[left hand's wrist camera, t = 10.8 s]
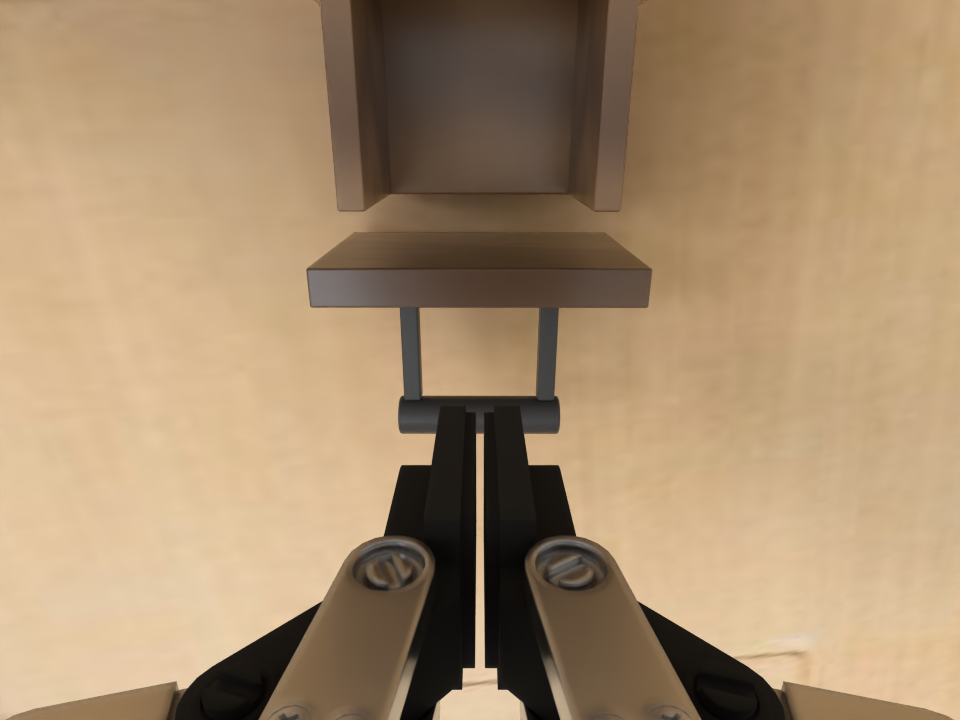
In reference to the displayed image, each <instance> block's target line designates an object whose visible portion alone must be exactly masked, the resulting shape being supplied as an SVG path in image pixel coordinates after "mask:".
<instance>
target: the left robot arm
mask: <svg viewBox="0 0 960 720" xmlns="http://www.w3.org/2000/svg"><path fill="white" fill-rule="evenodd" d="M475 608H476V412H466V405H440V411H439V418H438V425H437V431H436V438H435V445H434V452H433V459H432V465H402V466H401V468H400V471H399V475H398V479H397V483H396V488H395V492H394V496H393V500H392V504H391V508H390V513H389V517H388V521H387V525H386V529H385V533H384V537H379V538H374V539H372V540H370V541H367V542H365V543H363V544H361V545H360V546H358V547H357V548H356V549H354V550H353V551H352V552H351V553H350V554H349V556H348V557H347V558H346V559H345V561H344V563H343V565H342V566H341V568H340V570H339V572H338V574H337V576H336V578H335V579H334V581H333V583H332V585H331V587H330V589H329V590H328V592H327V594H326V596H325V598H324V600H323V601H322V602H320V603H319V604H317V605H315V606H313V607H312V608H310V609H308V610H307V611H305V612H303V613H302V614H300V615H298V616H297V617H295V618H293V619H292V620H290V621H288V622H287V623H285V624H283V625H281V626H280V627H278V628H276V629H275V630H273V631H271V632H270V633H268V634H266V635H265V636H263V637H261V638H260V639H258V640H256V641H255V642H253V643H251V644H250V645H248V646H246V647H244V648H243V649H241V650H239V651H238V652H236V653H234V654H233V655H231V656H229V657H228V658H226V659H224V660H223V661H221V662H219V663H218V664H216V665H214V666H213V667H211V668H210V669H208V670H207V671H206V672H204V673H203V674H202V675H200V676H199V677H198V678H197V679H196V680H195V681H194V682H193V683H192V684H191V685H190V686H189V688H187V689H182V690H179V689H178V685H177V681H176V682H171V683H166V684H160V685H155V686H150V687H145V688H140V689H135V690H129V691H124V692H119V693H114V694H109V695H104V696H98V697H93V698H88V699H83V700H78V701H73V702H67V703H62V704H57V705H52V706H47V707H42V708H36V709H33V710H30V711H26V712H23V713H20V714H17V715H14V716H12V717H10V718H8V719H7V720H439V718H440V700H441V699H442V698H443V697H444V696H445V695H447V694H448V693H449V692H450V691H451V690H462V678H463V668H475ZM484 608H485V668H497V678H498V690H509V691H510V692H511V693H512V694H513V695H515V696H516V697H517V698H518V699H519V700H520V718H521V720H953V719H952V718H950V717H948V716H946V715H943V714H940V713H937V712H934V711H930V710H927V709H924V708H918V707H913V706H908V705H903V704H898V703H893V702H887V701H882V700H877V699H872V698H867V697H862V696H856V695H851V694H846V693H841V692H836V691H831V690H825V689H820V688H815V687H810V686H805V685H800V684H794V683H789V682H784V681H783V685H782V689H781V690H778V689H773V688H771V686H770V685H769V684H768V683H767V682H766V681H765V680H764V679H763V678H762V677H761V676H760V675H758V674H757V673H756V672H754V671H753V670H752V669H750V668H749V667H747V666H746V665H744V664H742V663H741V662H739V661H737V660H736V659H734V658H732V657H731V656H729V655H727V654H726V653H724V652H722V651H721V650H719V649H717V648H716V647H714V646H712V645H710V644H709V643H707V642H705V641H704V640H702V639H700V638H699V637H697V636H695V635H694V634H692V633H690V632H689V631H687V630H685V629H684V628H682V627H680V626H679V625H677V624H675V623H673V622H672V621H670V620H668V619H667V618H665V617H663V616H662V615H660V614H658V613H657V612H655V611H653V610H652V609H650V608H648V607H647V606H645V605H643V604H641V603H640V602H638V601H637V600H636V598H635V596H634V594H633V592H632V590H631V589H630V587H629V585H628V583H627V581H626V579H625V578H624V576H623V574H622V572H621V570H620V568H619V566H618V565H617V563H616V561H615V559H614V558H613V557H612V556H611V554H610V553H609V552H608V551H607V550H606V549H604V548H603V547H602V546H600V545H599V544H597V543H595V542H593V541H590V540H588V539H586V538H581V537H576V533H575V529H574V525H573V521H572V517H571V513H570V508H569V504H568V500H567V496H566V492H565V488H564V484H563V479H562V475H561V471H560V468H559V466H558V465H528V459H527V452H526V445H525V438H524V431H523V425H522V418H521V411H520V405H494V412H484Z"/></svg>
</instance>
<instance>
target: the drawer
mask: <svg viewBox="0 0 960 720" xmlns="http://www.w3.org/2000/svg"><path fill="white" fill-rule="evenodd" d="M638 4H639V0H320V6H321V18H322V30H323V42H324V54H325V66H326V78H327V89H328V101H329V113H330V125H331V137H332V149H333V161H334V173H335V184H336V196H337V208H338V211H365V210H367V209H368V208H370V207H371V206H373V205H374V204H376V203H378V202H379V201H381V200H382V199H384V198H385V197H387V196H388V195H390V194H569V195H571V196H572V197H574V198H575V199H577V200H578V201H580V202H581V203H583V204H584V205H586V206H587V207H589V208H590V209H592V210H593V211H595V212H618V211H620V210H621V202H622V190H623V179H624V167H625V155H626V144H627V132H628V120H629V109H630V97H631V85H632V74H633V62H634V50H635V39H636V27H637V15H638ZM306 271H307V280H308V290H309V299H310V306H311V307H371V308H400V320H401V340H402V360H403V380H404V396H401V398H400V401H399V409H398V424H399V430H400V433H402V434H436V431H437V425H438V418H439V411H440V405H466V412H476V434H484V412H494V405H520V411H521V418H522V425H523V431H524V434H556V433H558V431H559V427H560V404H559V399H558V397H557V396H554V390H555V370H556V351H557V331H558V312H559V308H647V307H648V303H649V294H650V285H651V276H652V269H651V268H650V267H648V266H647V265H646V264H644V263H643V262H642V261H641V260H639V259H638V258H637V257H635V256H634V255H633V254H632V253H630V252H629V251H628V250H626V249H625V248H624V247H623V246H621V245H620V244H619V243H617V242H616V241H615V240H614V239H612V238H611V237H610V236H608V235H607V234H606V233H436V232H354V233H353V234H351V235H350V236H349V237H347V238H346V239H345V240H344V241H342V242H341V243H340V244H338V245H337V246H336V247H334V248H333V249H332V250H331V251H329V252H328V253H327V254H325V255H324V256H323V257H321V258H320V259H319V260H317V261H316V262H315V263H314V264H312V265H311V266H310V267H308V268H307V270H306ZM419 308H539V328H538V353H537V379H536V396H422V366H421V339H420V313H419Z"/></svg>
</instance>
